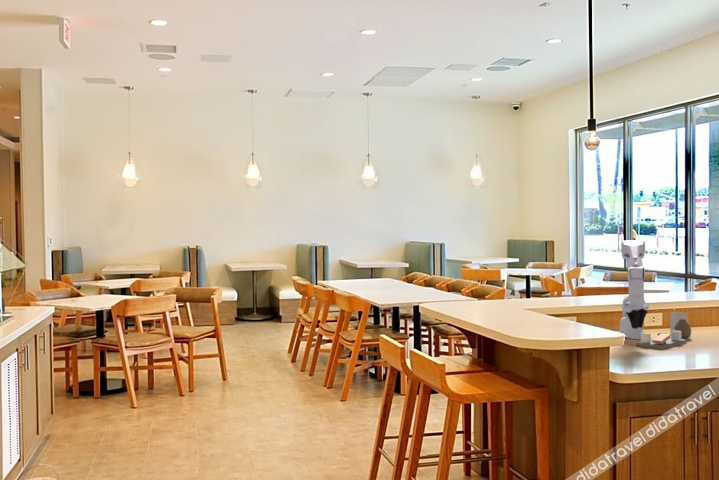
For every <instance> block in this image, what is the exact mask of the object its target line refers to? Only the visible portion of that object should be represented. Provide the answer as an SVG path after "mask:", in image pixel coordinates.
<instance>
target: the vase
mask: <svg viewBox="0 0 719 480" xmlns="http://www.w3.org/2000/svg"><path fill="white" fill-rule="evenodd" d="M674 330H676V331H681V336H682V339H685V340H689V338H690V337H691V335H692V328H691V325H690V324H689V322H688V323H687V321H686V319H679V321H678V322H677V324H676V325H675V327H674Z"/></svg>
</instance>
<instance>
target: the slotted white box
mask: <svg viewBox="0 0 719 480" xmlns="http://www.w3.org/2000/svg"><path fill="white" fill-rule="evenodd" d="M670 337H671V340H677V341H679V340H682V336H681V331H676V330H673V331H671V334H670Z"/></svg>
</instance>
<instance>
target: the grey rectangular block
mask: <svg viewBox="0 0 719 480" xmlns="http://www.w3.org/2000/svg"><path fill="white" fill-rule="evenodd" d="M679 319H686V321H687V323H688V324H689V316H688V312H681V311H680V312H678V311H671V314H670V321H669V324H670V332H669V333H671V331H673V330H674V327H675V325H676V324H677V322H678V321H679Z"/></svg>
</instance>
